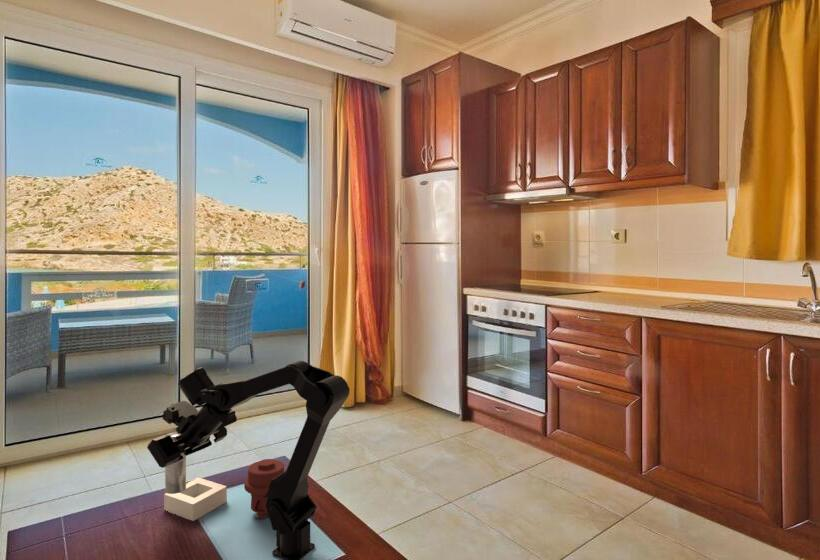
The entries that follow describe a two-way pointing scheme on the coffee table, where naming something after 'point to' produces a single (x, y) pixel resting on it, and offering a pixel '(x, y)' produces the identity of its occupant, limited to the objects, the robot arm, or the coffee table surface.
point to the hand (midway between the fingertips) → (171, 460)
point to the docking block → (196, 499)
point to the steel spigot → (175, 472)
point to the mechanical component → (261, 483)
